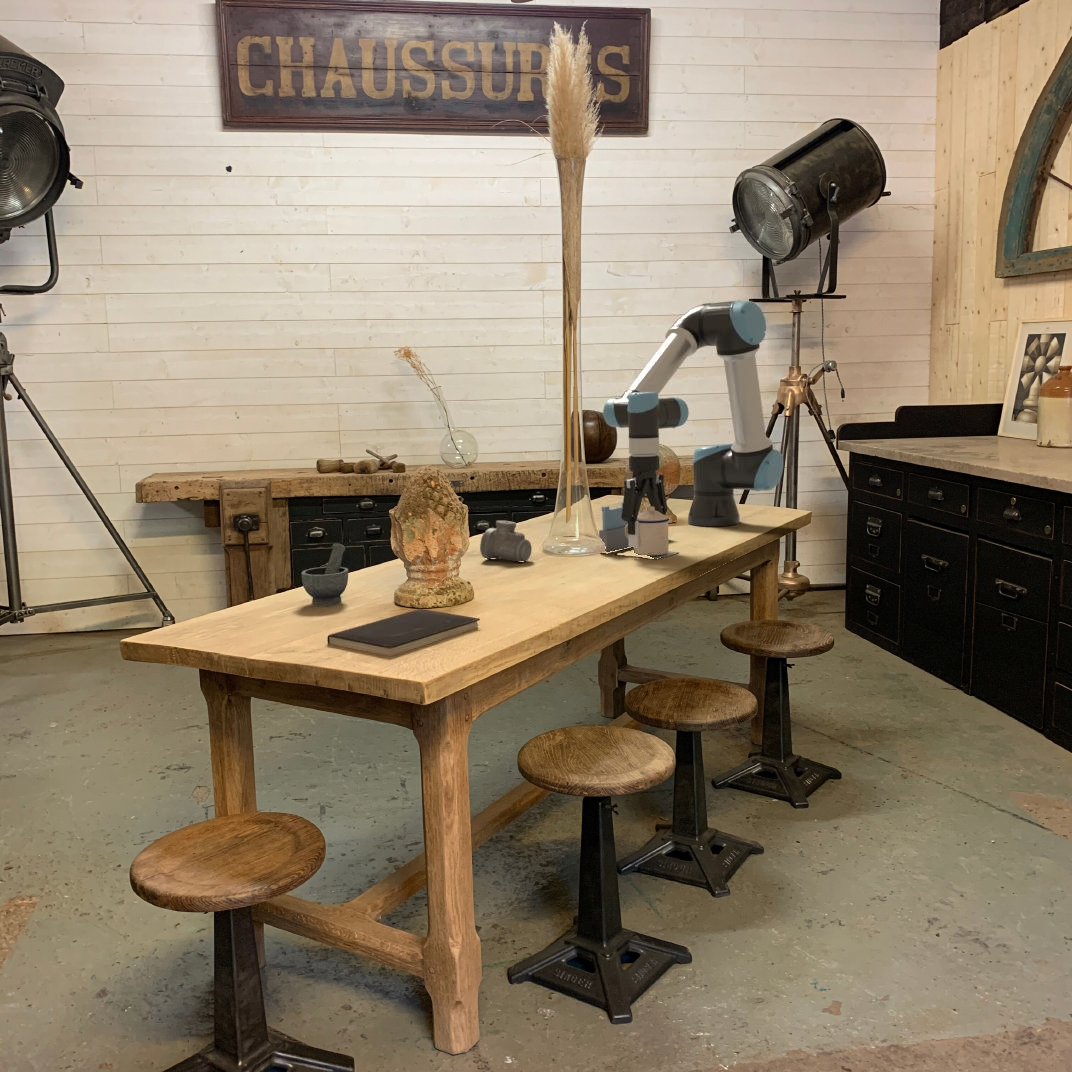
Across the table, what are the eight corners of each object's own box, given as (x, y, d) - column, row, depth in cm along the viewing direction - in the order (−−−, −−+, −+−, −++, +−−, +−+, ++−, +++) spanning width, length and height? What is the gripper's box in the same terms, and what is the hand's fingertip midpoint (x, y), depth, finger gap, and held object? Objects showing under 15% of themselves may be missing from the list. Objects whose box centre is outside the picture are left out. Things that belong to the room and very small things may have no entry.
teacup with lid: (676, 551, 260) (675, 505, 258) (658, 557, 252) (657, 510, 250) (634, 547, 267) (634, 502, 265) (616, 553, 259) (615, 507, 257)
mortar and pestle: (329, 610, 210) (326, 552, 208) (293, 606, 214) (289, 549, 212) (363, 598, 220) (360, 543, 218) (328, 595, 224) (325, 540, 222)
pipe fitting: (476, 559, 257) (480, 519, 256) (496, 557, 264) (500, 517, 262) (514, 569, 251) (519, 528, 249) (534, 566, 257) (538, 526, 256)
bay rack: (660, 538, 283) (660, 516, 282) (713, 543, 272) (713, 521, 271) (599, 553, 263) (599, 530, 262) (654, 560, 252) (654, 535, 251)
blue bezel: (625, 525, 270) (625, 502, 269) (629, 525, 269) (629, 502, 268) (602, 530, 262) (601, 506, 261) (605, 530, 261) (605, 507, 260)
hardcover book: (480, 630, 192) (479, 618, 192) (390, 659, 174) (390, 646, 174) (418, 619, 202) (417, 608, 201) (327, 646, 184) (326, 634, 183)
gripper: (656, 450, 266) (658, 536, 270) (605, 458, 250) (607, 549, 254) (681, 451, 261) (682, 539, 265) (630, 459, 245) (631, 552, 249)
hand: (645, 544), depth 259 cm, fingers closed on teacup with lid, 9 cm apart
